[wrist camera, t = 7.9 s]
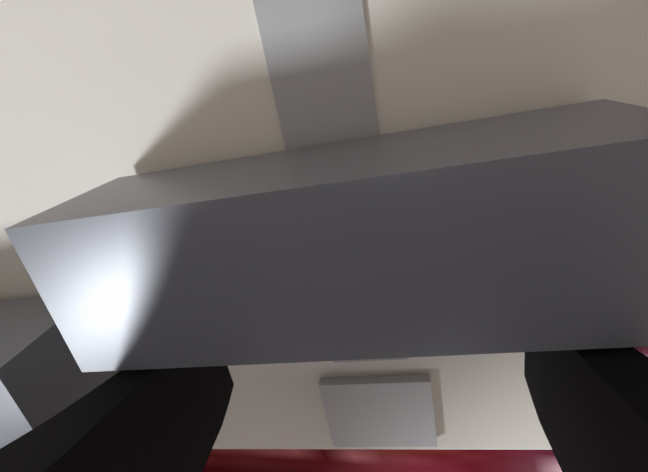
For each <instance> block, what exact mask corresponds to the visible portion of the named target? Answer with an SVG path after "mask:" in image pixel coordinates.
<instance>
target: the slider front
mask: <svg viewBox="0 0 648 472" xmlns="http://www.w3.org/2000/svg"><path fill="white" fill-rule="evenodd" d="M4 230H5V231H6V233H7V235H8V237H9V239H10V241H11V242H12V244H13V246H14V248H15V250H16V252H17V254H18V255H19V257H20V259H21V261H22V263H23V265H24V266H25V268H26V270H27V272H28V274H29V276H30V277H31V279H32V281H33V283H34V285H35V287H36V289H37V290H38V292H39V294H40V296H41V298H42V300H43V301H44V303H45V305H46V307H47V309H48V311H49V312H50V314H51V316H52V318H53V320H54V322H55V324H56V325H57V327H58V329H59V331H60V333H61V335H62V336H63V338H64V340H65V342H66V344H67V346H68V347H69V349H70V351H71V353H72V355H73V357H74V359H75V360H76V362H77V364H78V366H79V368H80V370H81V371H82V372H100V371H122V370H144V369H166V368H188V367H210V366H232V365H254V364H276V363H298V362H320V361H342V360H364V359H386V358H408V357H430V356H452V355H474V354H496V353H518V352H539V351H561V350H583V349H605V348H627V347H648V107H643V106H638V105H632V104H627V103H622V102H617V101H612V100H607V99H600V100H594V101H588V102H581V103H575V104H569V105H563V106H557V107H551V108H544V109H538V110H532V111H526V112H520V113H514V114H507V115H501V116H495V117H489V118H483V119H477V120H470V121H464V122H458V123H452V124H446V125H440V126H433V127H427V128H421V129H415V130H409V131H403V132H396V133H390V134H384V135H378V136H372V137H365V138H359V139H353V140H347V141H341V142H335V143H328V144H322V145H316V146H310V147H304V148H298V149H291V150H285V151H279V152H273V153H267V154H261V155H254V156H248V157H242V158H236V159H230V160H224V161H217V162H211V163H205V164H199V165H193V166H187V167H180V168H174V169H168V170H162V171H156V172H150V173H143V174H137V175H131V176H125V177H119V178H116V179H114V180H112V181H110V182H107V183H105V184H103V185H101V186H98V187H96V188H94V189H92V190H90V191H87V192H85V193H83V194H81V195H79V196H76V197H74V198H72V199H70V200H68V201H65V202H63V203H61V204H59V205H56V206H54V207H52V208H50V209H48V210H45V211H43V212H41V213H39V214H37V215H34V216H32V217H30V218H28V219H26V220H23V221H21V222H19V223H17V224H15V225H12V226H10V227H8V228H6V229H4Z"/></svg>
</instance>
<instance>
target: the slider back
mask: <svg viewBox="0 0 648 472" xmlns="http://www.w3.org/2000/svg"><path fill="white" fill-rule="evenodd" d="M118 372H119V371H100V372H82V371H81V370H80V368H79V366H78V364H77V362H76V360H75V359H74V357H73V355H72V353H71V351H70V349H69V347H68V346H67V344H66V342H65V340H64V338H63V336H62V335H61V333H60V331H59V329H58V327H57V325H56V324H55V322H54V320H53V318H52V316H51V314H50V312H49V311H48V309H47V307H46V305H45V303H44V301H43V300H42V298H41V297H31V298H21V299H10V300H0V449H1V448H2V447H4V446H6V445H7V444H9V443H11V442H12V441H14V440H16V439H17V438H19V437H21V436H22V435H24V434H26V433H28V432H29V431H31V430H33V429H34V428H36V427H37V426H39V425H41V424H42V423H44V422H45V421H47V420H49V419H50V418H52V417H53V416H55V415H56V414H58V413H59V412H61V411H62V410H64V409H65V408H67V407H68V406H70V405H71V404H73V403H74V402H76V401H77V400H79V399H80V398H82V397H83V396H85V395H86V394H87V393H89V392H90V391H92V390H93V389H95V388H96V387H98V386H99V385H101V384H102V383H104V382H105V381H107V380H108V379H109V378H111V377H112V376H114V375H115V374H116V373H118Z"/></svg>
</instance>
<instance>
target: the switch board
mask: <svg viewBox="0 0 648 472" xmlns="http://www.w3.org/2000/svg"><path fill="white" fill-rule="evenodd" d="M600 99H607V100H612V101H617V102H622V103H627V104H632V105H638V106H643V107H648V0H0V300H10V299H21V298H31V297H41V296H40V294H39V292H38V290H37V289H36V287H35V285H34V283H33V281H32V279H31V277H30V276H29V274H28V272H27V270H26V268H25V266H24V265H23V263H22V261H21V259H20V257H19V255H18V254H17V252H16V250H15V248H14V246H13V244H12V242H11V241H10V239H9V237H8V235H7V233H6V231H5V230H4V229H6V228H8V227H10V226H12V225H15V224H17V223H19V222H21V221H23V220H26V219H28V218H30V217H32V216H34V215H37V214H39V213H41V212H43V211H45V210H48V209H50V208H52V207H54V206H56V205H59V204H61V203H63V202H65V201H68V200H70V199H72V198H74V197H76V196H79V195H81V194H83V193H85V192H87V191H90V190H92V189H94V188H96V187H98V186H101V185H103V184H105V183H107V182H110V181H112V180H114V179H116V178H119V177H125V176H131V175H137V174H143V173H150V172H156V171H162V170H168V169H174V168H180V167H187V166H193V165H199V164H205V163H211V162H217V161H224V160H230V159H236V158H242V157H248V156H254V155H261V154H267V153H273V152H279V151H285V150H291V149H298V148H304V147H310V146H316V145H322V144H328V143H335V142H341V141H347V140H353V139H359V138H365V137H372V136H378V135H384V134H390V133H396V132H403V131H409V130H415V129H421V128H427V127H433V126H440V125H446V124H452V123H458V122H464V121H470V120H477V119H483V118H489V117H495V116H501V115H507V114H514V113H520V112H526V111H532V110H538V109H544V108H551V107H557V106H563V105H569V104H575V103H581V102H588V101H594V100H600ZM524 360H525V352H518V353H496V354H474V355H452V356H430V357H408V358H386V359H364V360H342V361H320V362H298V363H276V364H254V365H232V366H228V369H229V372H230V374H231V377H232V380H233V383H234V386H233V390H232V394H231V397H230V401H229V405H228V408H227V411H226V415H225V418H224V421H223V424H222V427H221V429H220V431H219V434H218V436H217V439H216V441H215V443H214V446H213V448H212V449H440V450H552V448H551V446H550V444H549V441H548V439H547V437H546V435H545V433H544V431H543V428H542V426H541V424H540V422H539V419H538V416H537V413H536V410H535V407H534V404H533V401H532V398H531V395H530V392H529V389H528V386H527V382H526V379H525V376H524Z"/></svg>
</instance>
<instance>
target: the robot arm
mask: <svg viewBox="0 0 648 472" xmlns="http://www.w3.org/2000/svg"><path fill="white" fill-rule="evenodd" d="M524 376H525V379H526V382H527V386H528V389H529V392H530V395H531V398H532V401H533V404H534V407H535V410H536V413H537V416H538V419H539V422H540V424H541V426H542V428H543V431H544V433H545V435H546V437H547V439H548V441H549V444H550V446H551V448H552V450H553V452H554V454H555V457H556V459H557V461H558V463H559V465H560V467H561V470H562V472H648V357H647V356H645V355H643V354H642V353H640V352H639V351H637V350H636V349H634V348H633V347H627V348H605V349H583V350H561V351H539V352H525V360H524ZM233 386H234V383H233V380H232V377H231V374H230V372H229V369H228V366H210V367H188V368H166V369H144V370H122V371H119V372H118V373H116V374H115V375H114V376H112V377H111V378H109V379H108V380H107V381H105V382H104V383H102V384H101V385H99V386H98V387H96V388H95V389H93V390H92V391H90V392H89V393H87V394H86V395H85V396H83V397H82V398H80V399H79V400H77V401H76V402H74V403H73V404H71V405H70V406H68V407H67V408H65V409H64V410H62V411H61V412H59V413H58V414H56V415H55V416H53V417H52V418H50V419H49V420H47V421H45V422H44V423H42V424H41V425H39V426H37V427H36V428H34V429H33V430H31V431H29V432H28V433H26V434H24V435H22V436H21V437H19V438H17V439H16V440H14V441H12V442H11V443H9V444H7V445H6V446H4V447H2V448H1V449H0V472H202V471H203V469H204V466H205V464H206V462H207V459H208V457H209V455H210V453H211V450H212V448H213V446H214V443H215V441H216V439H217V436H218V434H219V431H220V429H221V427H222V424H223V421H224V418H225V415H226V411H227V408H228V405H229V401H230V397H231V394H232V390H233Z"/></svg>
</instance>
